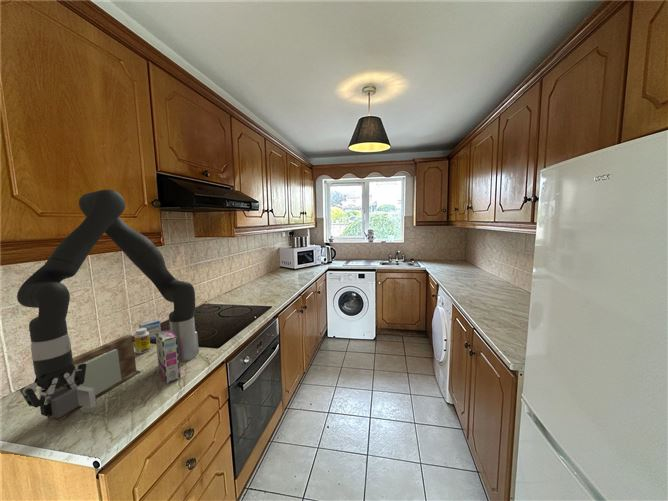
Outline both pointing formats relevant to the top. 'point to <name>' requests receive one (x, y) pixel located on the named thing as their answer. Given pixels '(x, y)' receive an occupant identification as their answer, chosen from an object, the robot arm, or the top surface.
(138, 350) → the supplement bottle
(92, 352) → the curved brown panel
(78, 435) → the top surface
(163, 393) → the top surface
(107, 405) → the top surface
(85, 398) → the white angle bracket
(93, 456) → the top surface
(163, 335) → the candy bar box
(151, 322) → the medicine box
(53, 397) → the block
